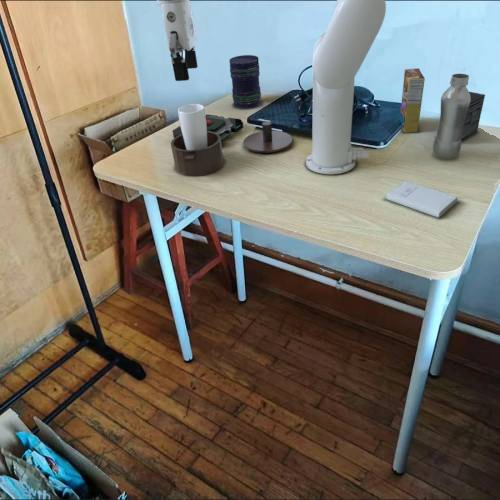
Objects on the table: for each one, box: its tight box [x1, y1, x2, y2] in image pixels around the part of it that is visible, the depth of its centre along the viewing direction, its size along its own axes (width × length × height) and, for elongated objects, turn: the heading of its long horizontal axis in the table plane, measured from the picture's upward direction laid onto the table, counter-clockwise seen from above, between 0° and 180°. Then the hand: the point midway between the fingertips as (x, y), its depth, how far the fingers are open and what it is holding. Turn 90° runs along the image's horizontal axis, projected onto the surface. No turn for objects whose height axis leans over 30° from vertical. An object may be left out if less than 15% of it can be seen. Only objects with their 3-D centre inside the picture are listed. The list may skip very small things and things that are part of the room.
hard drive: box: [385, 180, 459, 219], centre depth 100 cm, size 2×8×12 cm
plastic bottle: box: [432, 73, 471, 160], centre depth 110 cm, size 6×7×20 cm
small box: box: [437, 91, 486, 142], centre depth 123 cm, size 11×6×10 cm, turn 129°
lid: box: [242, 121, 293, 154], centre depth 129 cm, size 14×14×6 cm
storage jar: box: [228, 54, 262, 110], centre depth 154 cm, size 10×10×15 cm
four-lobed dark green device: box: [171, 113, 244, 144], centre depth 138 cm, size 18×18×5 cm
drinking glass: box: [177, 103, 208, 150], centre depth 118 cm, size 7×7×15 cm
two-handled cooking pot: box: [170, 131, 224, 177], centre depth 121 cm, size 13×18×7 cm
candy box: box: [400, 68, 426, 134], centre depth 128 cm, size 9×4×15 cm, turn 172°
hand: (187, 74), depth 109 cm, fingers open, 9 cm apart
